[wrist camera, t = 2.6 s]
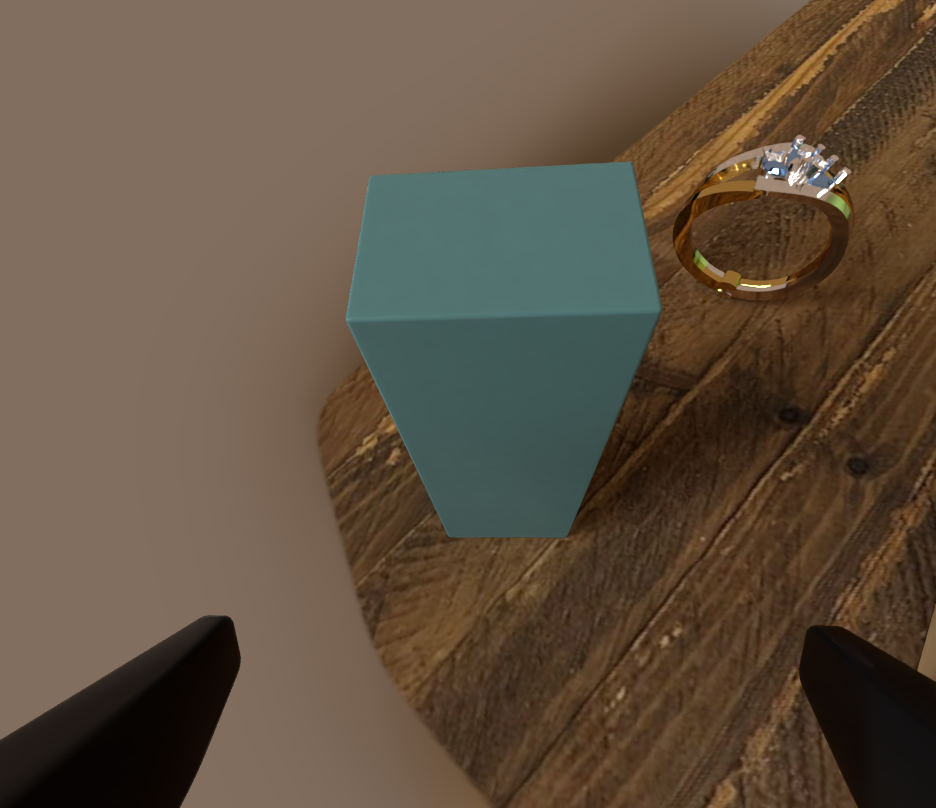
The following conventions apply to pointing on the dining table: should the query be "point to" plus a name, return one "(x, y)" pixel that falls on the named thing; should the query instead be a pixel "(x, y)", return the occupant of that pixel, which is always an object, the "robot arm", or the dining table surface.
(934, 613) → the seat frame
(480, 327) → the back pad
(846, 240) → the ring
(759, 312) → the dining table surface
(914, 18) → the dining table surface
